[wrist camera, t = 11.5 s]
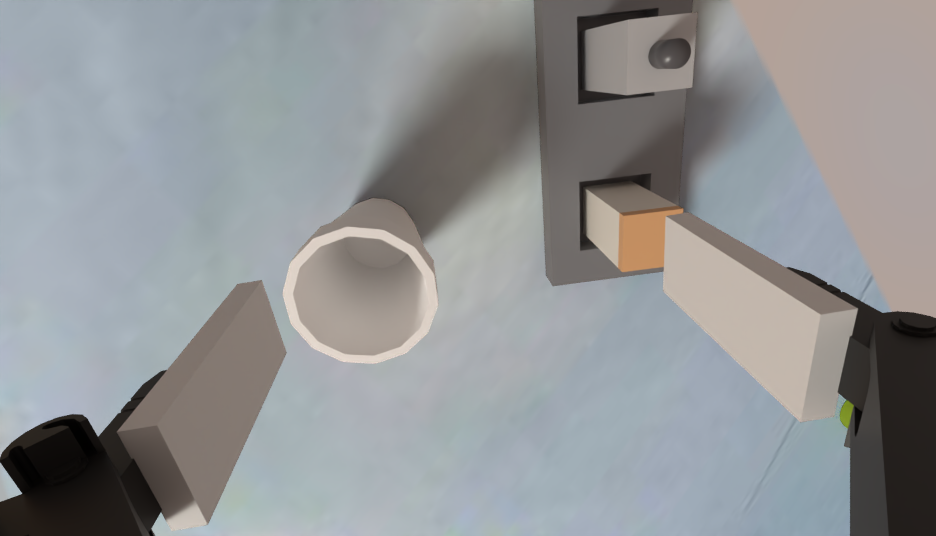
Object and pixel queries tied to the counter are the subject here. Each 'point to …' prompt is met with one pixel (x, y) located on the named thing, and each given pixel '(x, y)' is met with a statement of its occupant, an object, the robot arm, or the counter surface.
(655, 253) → the plug
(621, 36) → the grey tall block
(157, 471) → the robot arm
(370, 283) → the foam cup
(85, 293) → the counter surface
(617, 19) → the socket strip
